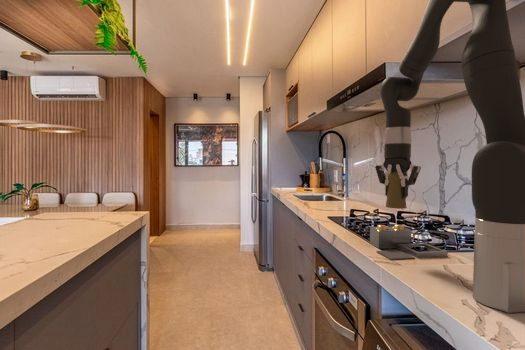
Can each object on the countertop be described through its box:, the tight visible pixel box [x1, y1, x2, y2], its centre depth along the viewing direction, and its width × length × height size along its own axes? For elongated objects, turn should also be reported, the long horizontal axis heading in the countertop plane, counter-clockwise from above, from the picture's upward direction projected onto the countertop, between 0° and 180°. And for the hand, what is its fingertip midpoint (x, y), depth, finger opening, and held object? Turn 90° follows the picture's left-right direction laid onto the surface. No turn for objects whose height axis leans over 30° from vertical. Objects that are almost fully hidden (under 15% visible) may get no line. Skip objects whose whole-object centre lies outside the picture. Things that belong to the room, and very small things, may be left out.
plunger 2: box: [393, 224, 405, 230], centre depth 108 cm, size 3×3×5 cm
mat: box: [376, 249, 416, 261], centre depth 96 cm, size 8×8×1 cm
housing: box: [369, 226, 449, 259], centre depth 102 cm, size 17×17×6 cm
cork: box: [385, 172, 408, 210], centre depth 95 cm, size 6×6×11 cm
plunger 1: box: [376, 224, 388, 230], centre depth 107 cm, size 3×3×5 cm
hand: (396, 197), depth 95 cm, fingers closed on cork, 4 cm apart
